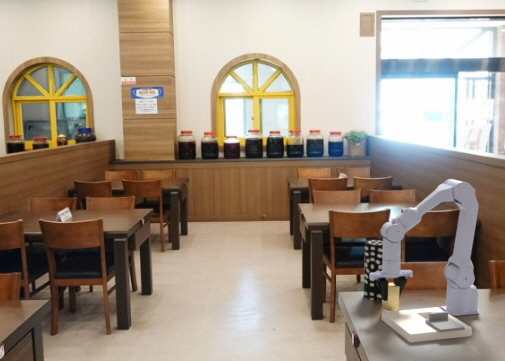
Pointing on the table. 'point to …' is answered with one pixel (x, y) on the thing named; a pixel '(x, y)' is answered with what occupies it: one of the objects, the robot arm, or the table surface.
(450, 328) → the panel
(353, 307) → the table surface
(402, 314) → the socket base
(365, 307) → the table surface
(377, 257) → the white-spotted black cylinder
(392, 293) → the peg
